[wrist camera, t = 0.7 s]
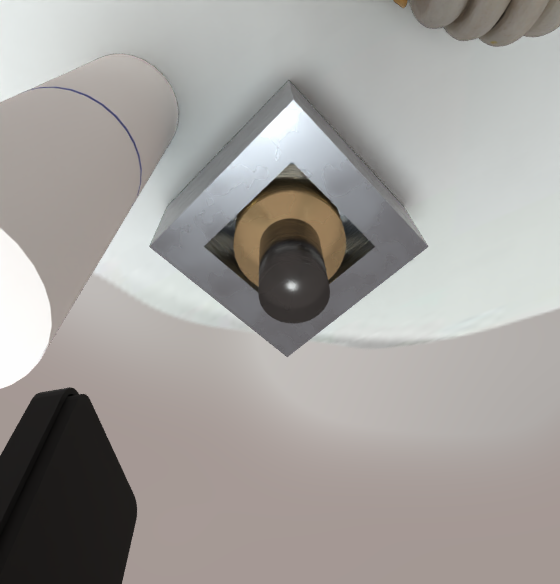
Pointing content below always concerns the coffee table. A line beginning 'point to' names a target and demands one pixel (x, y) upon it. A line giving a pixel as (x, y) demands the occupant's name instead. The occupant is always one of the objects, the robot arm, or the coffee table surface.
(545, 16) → the toy sheep
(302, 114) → the block
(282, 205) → the stepped cylindrical shaft
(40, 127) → the cylindrical container
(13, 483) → the robot arm
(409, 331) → the coffee table surface
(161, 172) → the coffee table surface
